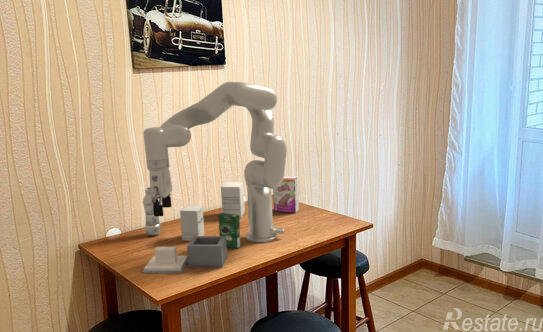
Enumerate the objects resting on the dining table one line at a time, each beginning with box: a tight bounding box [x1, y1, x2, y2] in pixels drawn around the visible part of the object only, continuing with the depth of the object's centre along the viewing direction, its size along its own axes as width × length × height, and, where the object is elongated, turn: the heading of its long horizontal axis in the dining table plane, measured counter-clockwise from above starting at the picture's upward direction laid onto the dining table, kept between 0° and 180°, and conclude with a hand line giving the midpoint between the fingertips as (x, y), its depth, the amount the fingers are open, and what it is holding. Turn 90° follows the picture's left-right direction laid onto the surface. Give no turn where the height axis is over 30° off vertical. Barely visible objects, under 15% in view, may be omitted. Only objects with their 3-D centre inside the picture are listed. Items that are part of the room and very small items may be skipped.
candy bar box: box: [272, 175, 300, 214], centre depth 239 cm, size 11×5×16 cm, turn 68°
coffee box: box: [218, 212, 241, 250], centre depth 197 cm, size 8×3×13 cm, turn 66°
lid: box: [143, 246, 188, 271], centre depth 182 cm, size 13×11×6 cm
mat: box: [141, 259, 188, 274], centre depth 183 cm, size 14×13×1 cm
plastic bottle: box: [142, 186, 162, 236], centre depth 213 cm, size 6×7×20 cm
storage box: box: [186, 235, 228, 269], centre depth 183 cm, size 12×10×8 cm
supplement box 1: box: [179, 205, 205, 242], centre depth 208 cm, size 7×7×13 cm
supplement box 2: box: [220, 181, 246, 219], centre depth 235 cm, size 9×9×15 cm
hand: (163, 211), depth 179 cm, fingers open, 9 cm apart
